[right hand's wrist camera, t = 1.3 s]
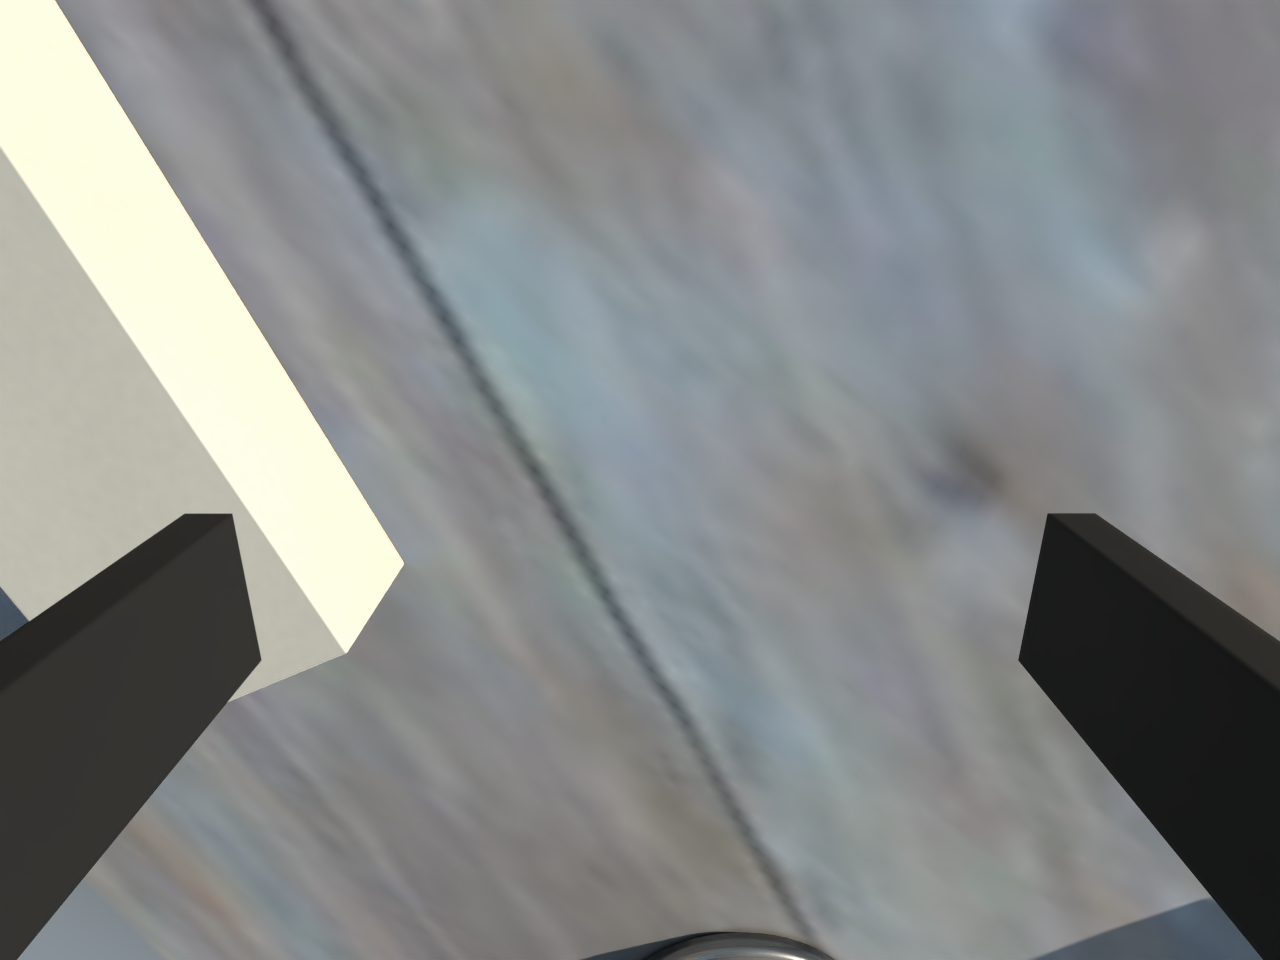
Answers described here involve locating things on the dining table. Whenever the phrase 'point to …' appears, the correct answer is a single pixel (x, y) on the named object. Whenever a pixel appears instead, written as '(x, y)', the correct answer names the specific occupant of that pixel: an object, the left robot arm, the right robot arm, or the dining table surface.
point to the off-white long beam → (148, 377)
